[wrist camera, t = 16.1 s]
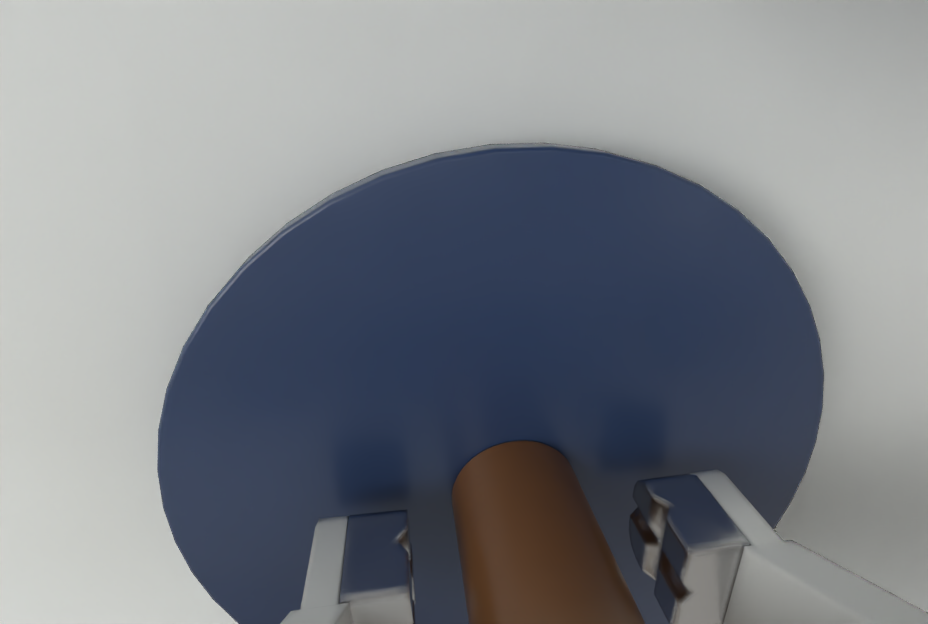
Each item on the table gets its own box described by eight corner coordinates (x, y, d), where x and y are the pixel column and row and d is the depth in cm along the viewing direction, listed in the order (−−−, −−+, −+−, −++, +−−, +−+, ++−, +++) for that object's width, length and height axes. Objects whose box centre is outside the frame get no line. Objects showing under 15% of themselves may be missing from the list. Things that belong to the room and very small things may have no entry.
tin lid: (898, 252, 10) (1351, 399, 5) (631, 657, 14) (746, 933, 10) (233, 18, 7) (-102, -128, 2) (154, 619, 11) (-13, 992, 7)
